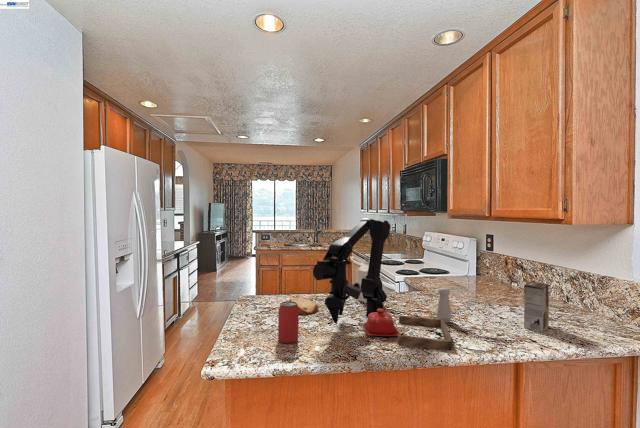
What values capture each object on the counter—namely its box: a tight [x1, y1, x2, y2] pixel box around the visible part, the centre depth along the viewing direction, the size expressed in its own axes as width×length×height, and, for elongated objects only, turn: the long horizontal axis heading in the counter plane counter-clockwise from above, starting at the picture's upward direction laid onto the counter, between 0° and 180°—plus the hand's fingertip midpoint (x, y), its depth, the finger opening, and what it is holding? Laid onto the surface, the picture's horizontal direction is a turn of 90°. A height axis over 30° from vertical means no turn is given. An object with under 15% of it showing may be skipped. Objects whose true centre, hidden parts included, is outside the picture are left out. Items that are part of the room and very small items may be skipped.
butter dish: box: [362, 308, 400, 337], centre depth 112 cm, size 12×12×8 cm
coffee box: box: [523, 281, 550, 333], centre depth 118 cm, size 9×6×16 cm
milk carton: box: [357, 260, 369, 304], centre depth 152 cm, size 7×7×19 cm
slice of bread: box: [288, 297, 319, 316], centre depth 140 cm, size 18×18×4 cm
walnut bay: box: [397, 314, 453, 351], centre depth 110 cm, size 16×22×2 cm
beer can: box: [277, 300, 300, 344], centre depth 104 cm, size 7×7×12 cm
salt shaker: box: [435, 287, 453, 324], centre depth 124 cm, size 6×6×13 cm
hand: (338, 318), depth 118 cm, fingers open, 9 cm apart
